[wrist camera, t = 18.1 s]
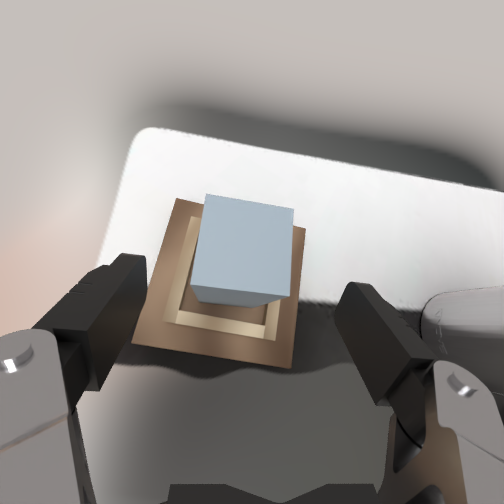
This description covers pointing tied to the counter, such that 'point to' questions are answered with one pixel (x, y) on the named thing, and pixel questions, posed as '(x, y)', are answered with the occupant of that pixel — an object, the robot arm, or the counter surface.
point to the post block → (242, 253)
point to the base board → (213, 315)
